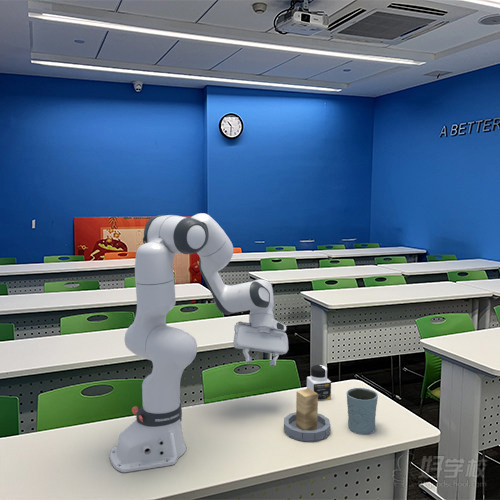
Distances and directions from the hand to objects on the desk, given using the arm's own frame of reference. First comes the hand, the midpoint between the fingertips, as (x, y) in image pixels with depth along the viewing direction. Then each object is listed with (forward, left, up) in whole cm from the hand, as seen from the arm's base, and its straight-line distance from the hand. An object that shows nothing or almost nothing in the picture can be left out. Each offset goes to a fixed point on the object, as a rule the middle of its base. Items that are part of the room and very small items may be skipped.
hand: (260, 364), depth 168 cm
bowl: (+9, -15, -19) cm, 26 cm away
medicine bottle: (+28, +5, -20) cm, 35 cm away
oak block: (+9, -15, -18) cm, 25 cm away
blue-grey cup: (+26, -22, -20) cm, 39 cm away
